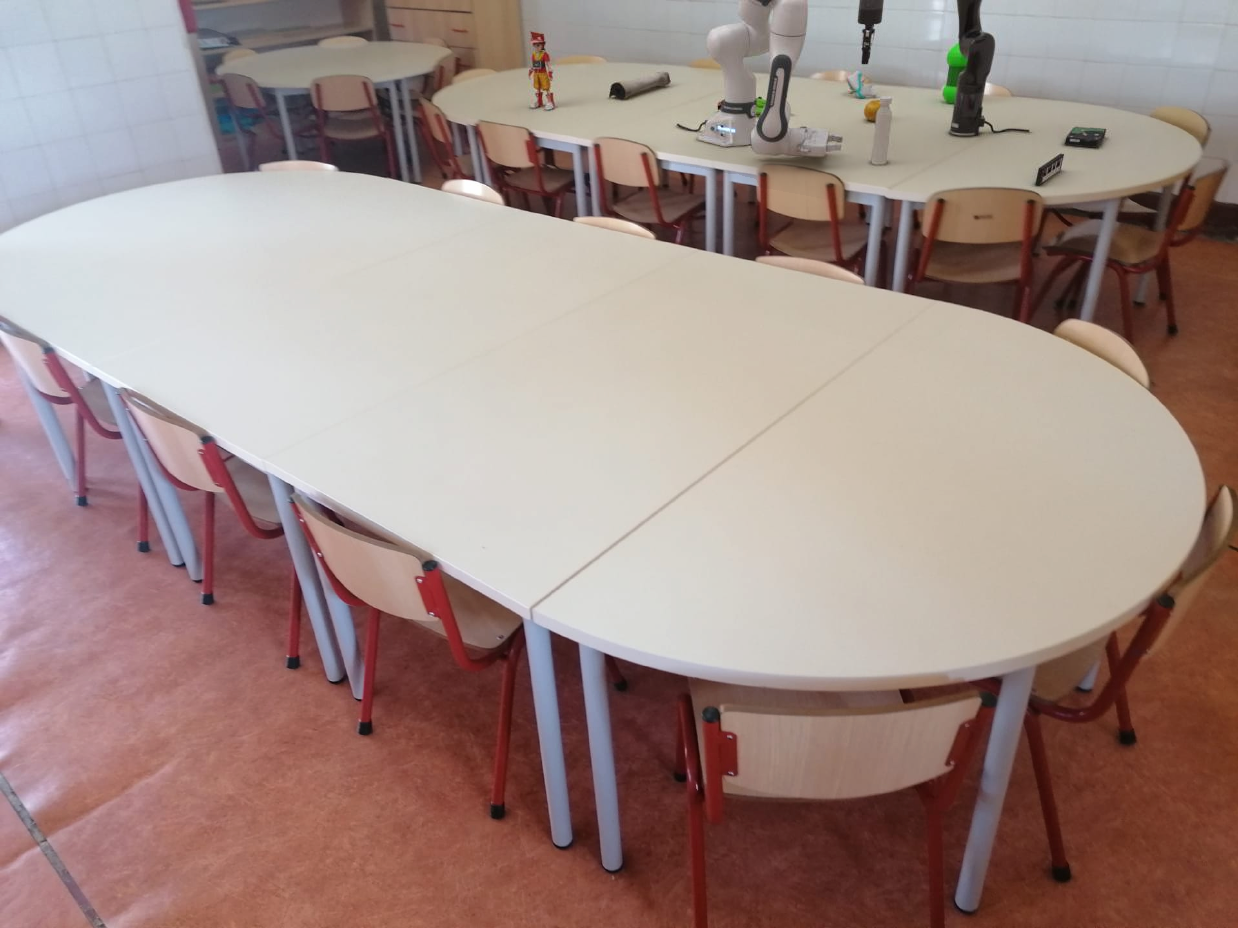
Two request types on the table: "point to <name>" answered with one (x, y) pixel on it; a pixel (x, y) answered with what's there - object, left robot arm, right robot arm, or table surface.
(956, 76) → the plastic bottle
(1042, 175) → the midi keyboard
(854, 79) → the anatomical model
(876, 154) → the bottle
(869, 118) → the fruit
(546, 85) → the toy
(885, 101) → the cap
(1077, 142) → the disk drive
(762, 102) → the toy
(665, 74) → the rolled mat
